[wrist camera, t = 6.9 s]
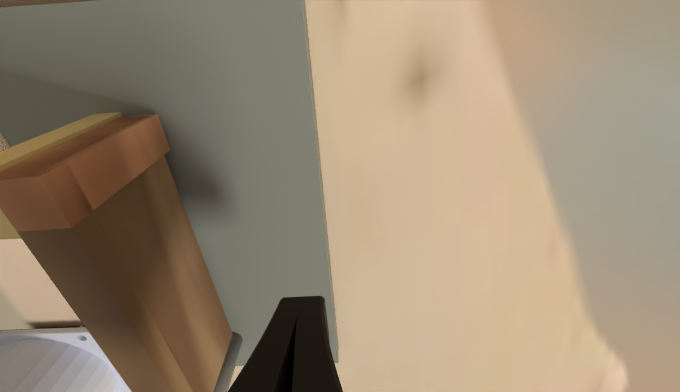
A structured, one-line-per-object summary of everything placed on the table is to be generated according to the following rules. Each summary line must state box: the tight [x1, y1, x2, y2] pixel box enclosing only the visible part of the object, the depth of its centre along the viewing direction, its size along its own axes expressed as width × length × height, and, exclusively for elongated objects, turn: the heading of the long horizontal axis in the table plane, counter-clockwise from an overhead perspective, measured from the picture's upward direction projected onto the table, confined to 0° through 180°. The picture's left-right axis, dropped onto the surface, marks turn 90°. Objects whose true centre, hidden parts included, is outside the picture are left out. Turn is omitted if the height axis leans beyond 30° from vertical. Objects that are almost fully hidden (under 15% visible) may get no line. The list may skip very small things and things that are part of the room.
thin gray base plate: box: [0, 0, 338, 392], centre depth 13 cm, size 12×19×7 cm, turn 3°
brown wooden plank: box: [0, 114, 233, 392], centre depth 12 cm, size 1×12×5 cm, turn 5°
